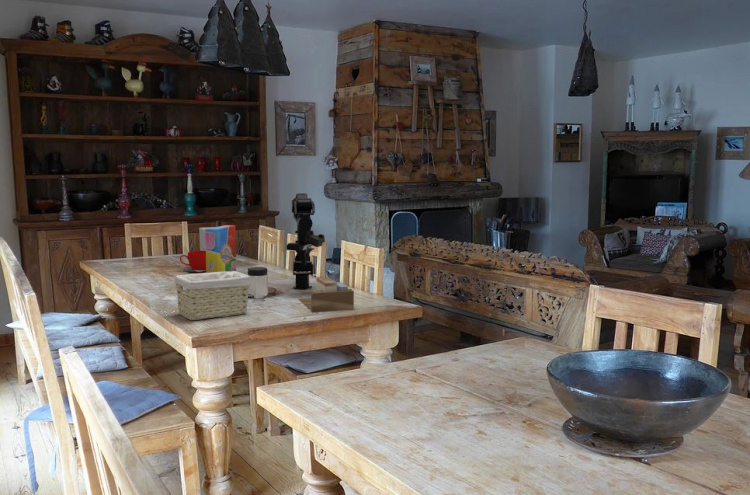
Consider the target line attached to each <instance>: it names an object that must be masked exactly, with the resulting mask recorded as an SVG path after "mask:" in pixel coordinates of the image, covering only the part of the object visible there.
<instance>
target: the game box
mask: <svg viewBox="0 0 750 495" xmlns="http://www.w3.org/2000/svg"><path fill="white" fill-rule="evenodd" d="M236 233H237V231H236V224H235V225H233V224H231V225H230V224H223V225H220V226H214V228H208V229H205V235H206V272H205V273H212V272H232V271H236V272H237V246H236V245H237V244H236V243H237V242H236V240H237V239H236V238H237V236H236V235H237V234H236Z"/></svg>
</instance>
